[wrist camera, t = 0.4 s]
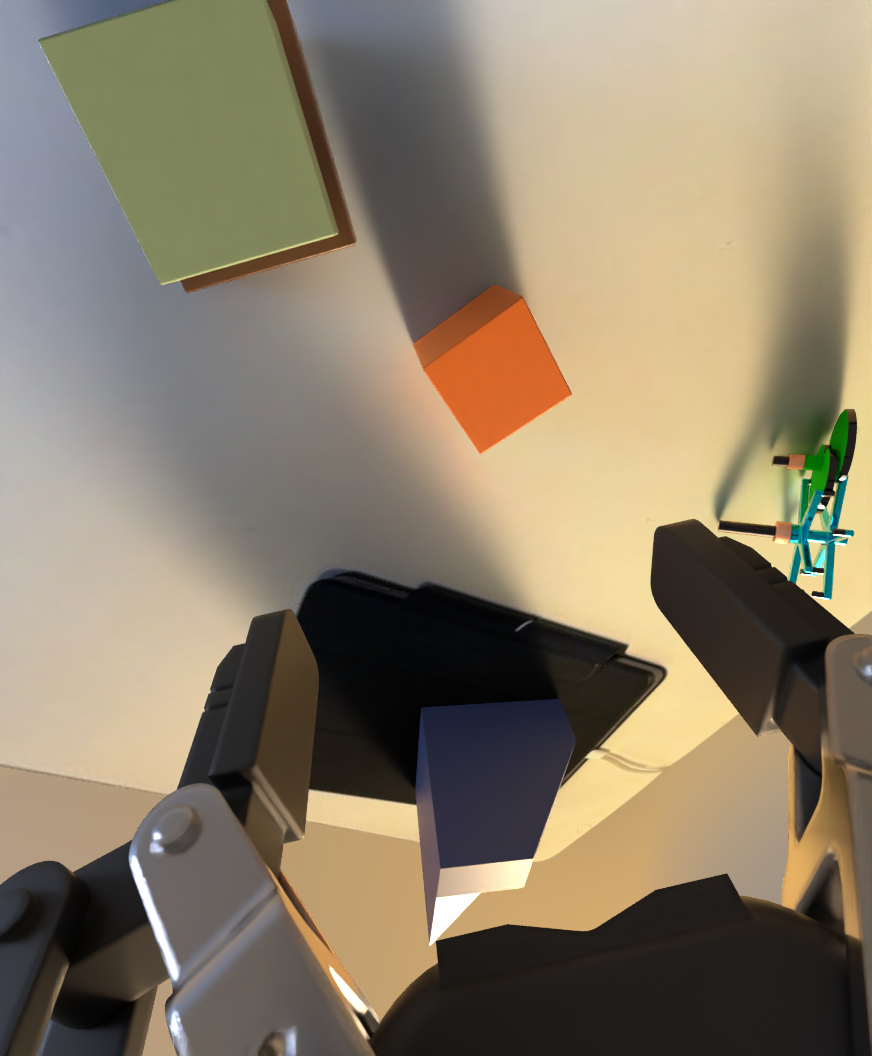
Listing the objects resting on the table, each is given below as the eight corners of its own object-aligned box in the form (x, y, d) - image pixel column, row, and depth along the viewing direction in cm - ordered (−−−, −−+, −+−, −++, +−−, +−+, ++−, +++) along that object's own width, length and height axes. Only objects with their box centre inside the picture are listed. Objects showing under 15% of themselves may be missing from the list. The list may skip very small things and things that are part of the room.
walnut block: (124, 87, 19) (72, 56, 15) (298, 35, 19) (284, -7, 15) (211, 283, 23) (185, 293, 19) (357, 241, 22) (355, 244, 19)
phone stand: (535, 779, 48) (581, 926, 38) (415, 789, 47) (429, 946, 36) (559, 698, 42) (621, 848, 32) (421, 707, 40) (440, 868, 30)
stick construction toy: (820, 579, 35) (846, 623, 28) (709, 564, 38) (710, 600, 31) (859, 407, 32) (899, 411, 25) (734, 406, 35) (740, 410, 28)
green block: (96, 73, 16) (34, 38, 13) (275, 20, 16) (255, -28, 13) (191, 276, 19) (159, 286, 16) (339, 233, 19) (334, 235, 16)
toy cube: (412, 344, 25) (422, 368, 21) (494, 283, 24) (522, 295, 20) (462, 419, 28) (480, 454, 23) (539, 367, 27) (572, 394, 22)
